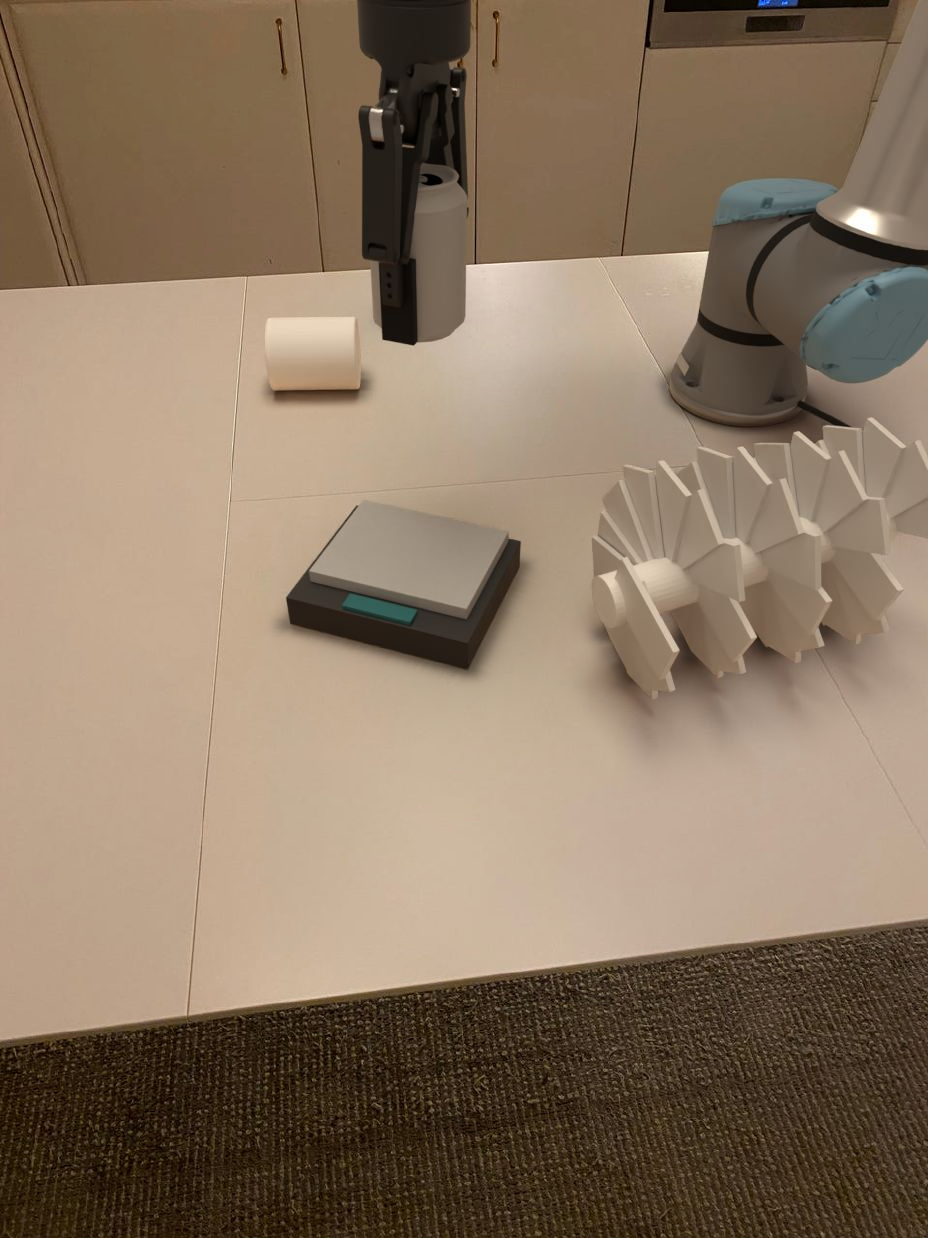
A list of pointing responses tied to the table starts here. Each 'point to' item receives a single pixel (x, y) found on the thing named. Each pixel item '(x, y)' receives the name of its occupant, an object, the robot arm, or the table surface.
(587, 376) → the table surface
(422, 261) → the can
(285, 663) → the table surface
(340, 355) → the white coffee cup
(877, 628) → the spiral staircase
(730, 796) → the table surface
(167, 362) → the table surface
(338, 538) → the scale
